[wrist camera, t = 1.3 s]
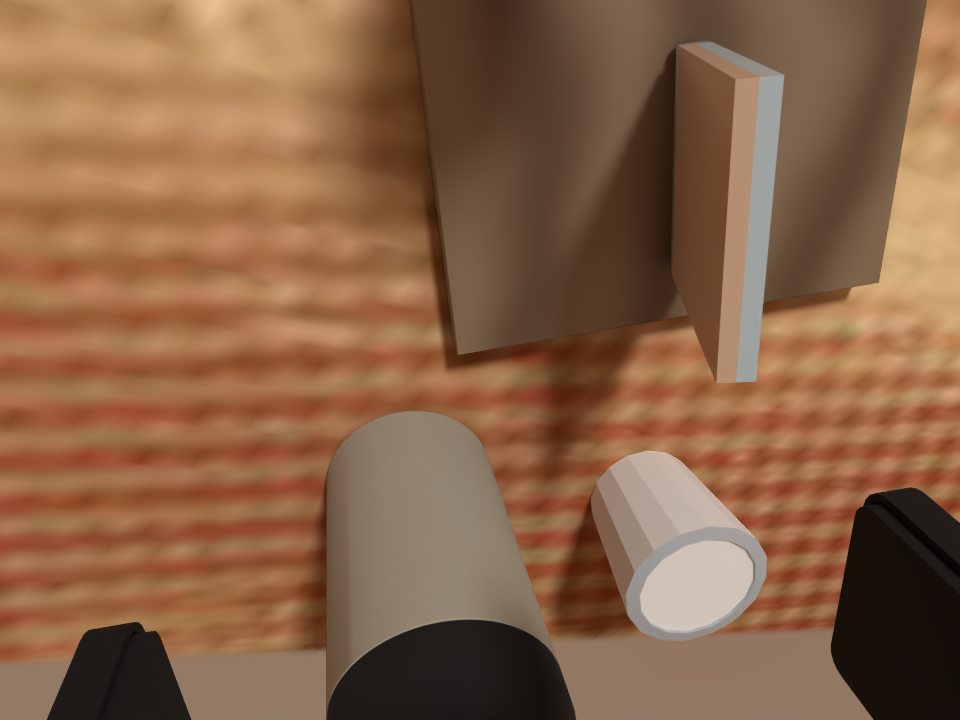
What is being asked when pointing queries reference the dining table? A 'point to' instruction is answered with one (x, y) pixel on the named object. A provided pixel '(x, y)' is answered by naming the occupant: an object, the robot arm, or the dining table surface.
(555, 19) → the board
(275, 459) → the dining table surface
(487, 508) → the travel mug
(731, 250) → the tile
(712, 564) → the white cup
